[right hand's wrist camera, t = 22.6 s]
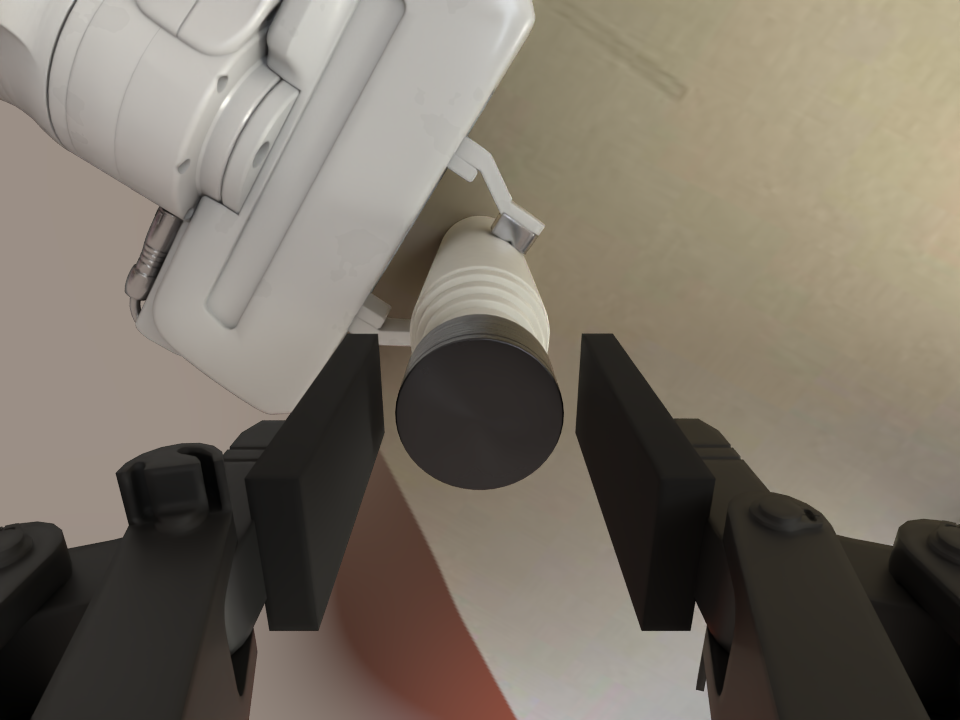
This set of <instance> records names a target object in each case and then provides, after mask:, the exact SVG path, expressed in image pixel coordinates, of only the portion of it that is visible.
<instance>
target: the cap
mask: <svg viewBox="0 0 960 720" xmlns="http://www.w3.org/2000/svg"><path fill="white" fill-rule="evenodd" d="M395 415H396V425H397V431H398V434H399V437H400V440H401V442H402V444H403V446H404V448H405V450H406V451H407V453H408V454H409V456H410V457H411V458H412V460H413V461H414V462H415V463H416V464H417V465H418V466H419V467H420V468H421V469H422V470H424V471H425V472H426V473H428V474H429V475H431V476H432V477H434V478H435V479H437V480H439V481H441V482H443V483H446V484H449V485H452V486H455V487H459V488H463V489H472V490H487V489H495V488H500V487H504V486H507V485H510V484H513V483H516V482H518V481H520V480H522V479H524V478H525V477H527V476H529V475H530V474H532V473H533V472H534V471H535V470H537V469H538V468H539V467H540V466H541V465H542V464H543V463H544V462H545V461H546V460H547V458H548V457H549V456H550V454H551V453H552V452H553V450H554V448H555V446H556V444H557V442H558V440H559V437H560V434H561V431H562V426H563V417H564V410H563V401H562V397H561V393H560V390H559V387H558V384H557V380H556V377H555V374H554V371H553V368H552V365H551V362H550V360H549V357H548V355H547V353H546V351H545V349H544V348H543V346H542V345H541V344H540V342H539V341H538V340H537V339H536V338H535V337H534V336H533V335H532V334H531V333H530V332H529V331H528V330H526V329H525V328H524V327H522V326H521V325H519V324H517V323H515V322H513V321H511V320H508V319H506V318H503V317H499V316H495V315H488V314H472V315H464V316H460V317H456V318H453V319H451V320H448V321H446V322H444V323H442V324H440V325H438V326H437V327H435V328H434V329H433V330H431V331H430V332H429V333H428V334H427V335H426V336H425V337H424V338H423V339H422V340H421V341H420V342H419V344H418V345H417V346H416V348H415V350H414V351H413V353H412V355H411V358H410V360H409V363H408V366H407V369H406V372H405V375H404V378H403V381H402V384H401V387H400V390H399V393H398V397H397V401H396V410H395Z"/></svg>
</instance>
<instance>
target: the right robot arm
mask: <svg viewBox="0 0 960 720" xmlns="http://www.w3.org/2000/svg"><path fill="white" fill-rule="evenodd" d="M384 433H385V432H384V417H383V401H382V386H381V371H380V355H379V340H378V334H347V335H346V336H345V338H344V339H343V340H342V342H341V343H340V345H339V346H338V347H337V349H336V350H335V352H334V353H333V354H332V356H331V357H330V359H329V360H328V361H327V363H326V364H325V366H324V367H323V368H322V370H321V371H320V373H319V374H318V376H317V377H316V378H315V380H314V381H313V383H312V384H311V385H310V387H309V388H308V390H307V391H306V392H305V394H304V395H303V397H302V398H301V399H300V401H299V402H298V404H297V405H296V406H295V408H294V409H293V411H292V412H291V414H290V415H289V416H288V418H287V419H286V420H284V421H282V420H279V421H278V420H276V421H275V420H273V421H271V420H269V421H265V420H264V421H260V422H259V423H257V424H255V425H254V426H252V427H250V428H249V429H247V430H245V431H244V432H242V433H241V434H240V435H239V437H238V438H237V439H236V440H235V441H234V442H233V444H232V445H231V446H230V450H227V451H226V452H225V453H224V454H222V451H220V450H219V449H217V448H216V447H215V446H212V445H207V444H202V443H181V444H176V445H171V446H165V447H161V448H158V449H155V450H152V451H149V452H146V453H143V454H141V455H139V456H138V457H136V458H134V459H132V460H130V461H129V462H127V463H125V464H124V465H123V466H122V467H121V468H120V469H119V470H118V471H117V472H116V476H117V480H118V484H119V488H120V492H121V496H122V500H123V504H124V508H125V512H126V516H127V520H128V523H129V526H128V528H127V530H126V532H125V534H124V536H123V538H119V539H115V540H110V541H105V542H100V543H95V544H90V545H85V546H79V547H74V548H69V549H68V548H67V545H66V542H65V539H64V535H63V532H62V530H61V529H60V528H58V527H57V526H56V525H54V524H52V523H44V522H29V523H20V524H19V523H16V524H11V525H6V526H5V527H4V528H3V527H0V720H249V714H250V706H251V698H252V690H253V682H254V674H255V666H256V658H257V646H256V639H255V634H254V628H253V627H254V625H255V622H256V621H257V618H258V616H259V614H260V612H261V610H262V608H263V606H264V604H265V607H266V613H267V619H268V625H269V630H270V631H318V630H319V627H320V624H321V621H322V618H323V615H324V612H325V609H326V606H327V603H328V600H329V597H330V594H331V591H332V588H333V586H334V582H335V579H336V576H337V574H338V571H339V568H340V565H341V562H342V558H343V555H344V553H345V550H346V547H347V544H348V541H349V538H350V535H351V532H352V529H353V526H354V523H355V520H356V517H357V514H358V510H359V507H360V505H361V502H362V498H363V496H364V493H365V490H366V487H367V484H368V481H369V478H370V475H371V472H372V469H373V466H374V463H375V460H376V457H377V454H378V451H379V448H380V445H381V442H382V439H383V436H384ZM575 433H576V436H577V439H578V442H579V445H580V448H581V451H582V454H583V457H584V460H585V463H586V466H587V469H588V472H589V475H590V478H591V481H592V484H593V487H594V490H595V493H596V496H597V499H598V502H599V505H600V508H601V511H602V514H603V517H604V520H605V523H606V526H607V529H608V532H609V535H610V538H611V541H612V544H613V547H614V550H615V553H616V556H617V559H618V562H619V565H620V568H621V571H622V574H623V577H624V580H625V583H626V586H627V588H628V591H629V594H630V597H631V600H632V603H633V606H634V609H635V612H636V615H637V618H638V621H639V624H640V627H641V630H642V631H691V625H692V619H693V613H694V607H695V601H696V603H697V605H698V607H699V609H700V611H701V613H702V615H703V617H704V620H705V622H706V624H707V628H706V634H705V639H704V645H703V651H702V656H701V662H700V667H699V673H698V679H697V686H696V690H700V691H704V687H705V682H706V681H707V689H708V697H709V705H710V712H711V720H960V524H959V525H956V523H953V522H948V521H938V520H929V519H919V520H911V521H907V522H906V523H904V524H903V525H901V526H900V527H899V529H898V532H897V535H896V539H895V542H894V545H893V546H889V545H884V544H879V543H874V542H869V541H863V540H858V539H853V538H848V537H844V536H840V535H836V533H835V531H834V529H833V527H832V525H831V524H830V523H829V522H828V520H827V519H826V518H825V517H824V516H823V514H822V513H820V512H819V511H817V510H816V509H814V508H813V507H811V506H810V505H808V504H807V503H804V502H802V501H799V500H797V499H795V498H792V497H790V496H787V495H782V494H778V493H773V492H770V491H769V490H768V489H767V488H766V486H765V485H764V484H763V483H762V482H761V480H760V479H759V478H758V477H757V476H756V475H755V473H754V472H753V471H752V470H751V469H750V467H749V466H748V465H747V464H746V463H745V461H744V460H741V459H740V455H739V454H738V453H737V452H736V451H735V450H734V448H731V445H730V444H729V442H728V441H727V440H726V439H725V438H724V436H723V435H722V434H721V433H720V432H719V431H718V430H717V429H715V428H713V427H712V426H710V425H708V424H706V423H705V422H703V421H701V420H700V419H673V418H672V416H671V415H670V414H669V412H668V411H667V409H666V408H665V406H664V405H663V404H662V402H661V401H660V399H659V398H658V397H657V395H656V394H655V392H654V391H653V390H652V388H651V387H650V385H649V384H648V383H647V381H646V380H645V378H644V377H643V376H642V374H641V373H640V371H639V370H638V368H637V367H636V366H635V364H634V363H633V361H632V360H631V359H630V357H629V356H628V354H627V353H626V352H625V350H624V349H623V347H622V346H621V345H620V343H619V342H618V340H617V339H616V338H615V336H614V335H613V334H582V340H581V355H580V371H579V386H578V401H577V417H576V432H575Z"/></svg>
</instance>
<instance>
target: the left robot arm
mask: <svg viewBox="0 0 960 720" xmlns="http://www.w3.org/2000/svg"><path fill="white" fill-rule="evenodd" d="M534 22H535V12H534V7H533V2H532V0H0V100H3V101H5V102H8V103H10V104H12V105H14V106H16V107H17V108H19V109H21V110H22V111H23V112H25V113H26V114H27V115H29V116H30V117H31V118H32V119H33V120H34V121H35V122H36V123H37V124H38V125H39V126H40V127H41V128H42V129H43V130H44V131H45V132H46V133H47V134H48V135H49V136H50V137H51V138H52V139H53V140H55V141H56V142H57V143H58V144H59V145H61V146H62V147H63V148H65V149H67V150H68V151H70V152H72V153H73V154H75V155H77V156H78V157H80V158H81V159H83V160H85V161H87V162H88V163H90V164H91V165H93V166H95V167H97V168H98V169H100V170H101V171H103V172H105V173H106V174H108V175H110V176H111V177H113V178H115V179H116V180H118V181H120V182H121V183H123V184H125V185H126V186H128V187H130V188H131V189H132V190H134V191H136V192H137V193H139V194H141V195H142V196H144V197H146V198H147V199H149V200H151V201H152V202H154V203H156V204H157V205H159V208H158V210H157V212H156V214H155V217H154V219H153V222H152V224H151V226H150V228H149V231H148V233H147V236H146V239H145V242H144V246H143V249H142V252H141V255H140V257H139V259H138V261H137V264H135V265H134V266H133V267H132V269H131V271H130V273H129V275H128V277H127V280H126V284H125V293H126V294H127V295H128V296H129V297H130V310H131V314H132V317H133V319H134V321H135V323H136V328H137V329H138V330H139V332H140V333H141V334H143V335H144V336H145V337H146V338H148V339H149V340H151V341H153V342H155V343H157V344H158V345H160V346H162V347H164V348H166V349H167V350H169V351H171V352H173V353H175V354H177V355H180V356H182V357H183V358H185V359H186V360H187V361H188V362H190V363H191V364H192V365H194V366H195V367H196V368H197V369H199V370H200V371H201V372H203V373H204V374H205V375H207V376H208V377H209V378H211V379H212V380H214V381H215V382H216V383H218V384H219V385H221V386H222V387H224V388H225V389H226V390H228V391H229V392H231V393H232V394H234V395H235V396H237V397H238V398H240V399H242V400H243V401H245V402H246V403H248V404H249V405H251V406H253V407H254V408H256V409H258V410H260V411H262V412H264V413H267V414H288V413H291V412H292V411H293V409H294V408H295V406H296V405H297V404H298V402H299V401H300V399H301V398H302V397H303V395H304V394H305V392H306V391H307V390H308V388H309V387H310V385H311V384H312V383H313V381H314V380H315V378H316V377H317V376H318V374H319V373H320V371H321V370H322V368H323V367H324V366H325V364H326V363H327V361H328V360H329V359H330V357H331V356H332V354H333V353H334V352H335V350H336V349H337V347H338V346H339V345H340V343H341V342H342V340H343V339H344V337H345V336H346V334H347V332H350V333H351V334H378V340H379V345H388V346H411V344H410V322H411V319H399V318H387V316H388V314H389V312H390V310H391V306H390V305H389V304H387V303H386V302H384V301H383V300H381V299H379V298H378V297H376V296H375V295H373V294H372V291H373V290H374V288H375V286H376V285H377V283H378V282H379V280H380V278H381V277H382V275H383V273H384V272H385V270H386V268H387V267H388V265H389V264H390V262H391V260H392V259H393V257H394V255H395V254H396V252H397V250H398V249H399V247H400V245H401V244H402V242H403V241H404V239H405V237H406V236H407V234H408V232H409V231H410V229H411V227H412V226H413V224H414V223H415V221H416V219H417V218H418V216H419V214H420V213H421V211H422V209H423V208H424V206H425V205H426V203H427V201H428V200H429V198H430V196H431V195H432V193H433V191H434V190H435V188H436V187H437V185H438V183H439V182H440V180H441V178H442V177H443V175H444V173H445V172H446V170H447V168H449V169H450V170H452V171H453V172H455V173H456V174H458V175H459V176H461V177H462V178H464V179H465V180H466V181H468V182H471V181H473V180H474V178H475V177H476V175H477V173H478V171H477V170H479V171H480V172H481V174H482V176H483V178H484V180H485V183H486V185H487V187H488V189H489V191H490V193H491V195H492V197H493V199H494V201H495V203H496V205H497V207H498V209H499V211H500V213H499V214H498V216H497V217H496V219H495V221H494V222H493V224H492V225H491V233H493V234H494V235H496V236H497V237H499V238H500V239H501V240H504V241H511V243H512V245H513V247H514V248H515V249H516V250H518V251H519V252H521V253H523V254H526V253H527V251H528V250H529V249H530V247H531V246H532V244H533V243H534V242H535V240H536V239H537V237H538V236H539V234H540V233H541V232H542V230H543V229H544V227H545V225H544V223H543V222H541V221H540V220H539V219H538V218H536V217H535V216H533V215H532V214H531V213H529V212H528V211H526V210H525V209H523V208H522V207H521V206H519V205H518V204H516V203H515V202H513V201H512V197H511V195H510V193H509V191H508V189H507V187H506V185H505V182H504V180H503V178H502V176H501V174H500V172H499V170H498V167H497V165H496V163H495V161H494V159H493V157H492V155H491V153H489V152H488V151H487V150H485V149H484V148H483V147H481V146H480V145H478V144H477V143H476V142H474V141H473V140H471V139H470V138H469V137H467V136H468V134H469V132H470V131H471V129H472V128H473V126H474V124H475V123H476V121H477V119H478V118H479V116H480V114H481V113H482V111H483V109H484V108H485V106H486V105H487V103H488V101H489V100H490V98H491V96H492V95H493V93H494V91H495V90H496V88H497V87H498V85H499V83H500V82H501V80H502V78H503V77H504V75H505V73H506V72H507V70H508V69H509V67H510V65H511V64H512V62H513V60H514V59H515V57H516V55H517V54H518V52H519V50H520V49H521V47H522V46H523V44H524V42H525V41H526V39H527V37H528V36H529V34H530V32H531V30H532V28H533V25H534ZM144 300H146V301H145V303H144V305H143V307H142V309H141V307H140V301H144Z"/></svg>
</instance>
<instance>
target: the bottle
mask: <svg viewBox="0 0 960 720" xmlns="http://www.w3.org/2000/svg"><path fill="white" fill-rule="evenodd" d="M494 221H495V218H492V217H488V216H471V217H467V218H465V219H462V220H460V221H458V222H457V223H455V224H454V225H453V226H452V227H451V228H450V229H449V230H448V231H447V232H446V234H445V235H444V237H443V239H442V241H441V244H440V246H439V249H438V251H437V254H436V256H435V258H434V261H433V263H432V266H431V268H430V271H429V273H428V276H427V278H426V281H425V283H424V286H423V288H422V290H421V293H420V295H419V298H418V300H417V303H416V305H415V308H414V310H413V313H412V317H411V322H410V344H411V351H412V353H413V351H414V350H415V348H416V346H417V345H418V344H419V342H420V341H421V340H422V339H423V338H424V337H425V336H426V335H427V334H428V333H429V332H430V331H431V330H433V329H434V328H435V327H437V326H438V325H440V324H442V323H444V322H446V321H448V320H451V319H453V318H456V317H460V316H464V315H472V314H488V315H495V316H499V317H503V318H506V319H508V320H511V321H513V322H515V323H517V324H519V325H521V326H522V327H524V328H525V329H526V330H528V331H529V332H530V333H531V334H532V335H533V336H534V337H535V338H536V339H537V340H538V341H539V342H540V344H541V345H542V346H543V348H544V349H545V351H546V353H547V352H548V346H549V334H550V330H549V321H548V316H547V313H546V310H545V307H544V304H543V302H542V299H541V297H540V294H539V292H538V289H537V287H536V285H535V282H534V280H533V277H532V275H531V272H530V270H529V267H528V265H527V262H526V260H525V257H524V255H523V253H521V252H519V251H518V250H516V249H515V248H514V247H513V245H512V243H511V241H504V240H501V239H500V238H499V237H497V236H496V235H494V234H493V233H491V225H492V224H493V222H494Z"/></svg>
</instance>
